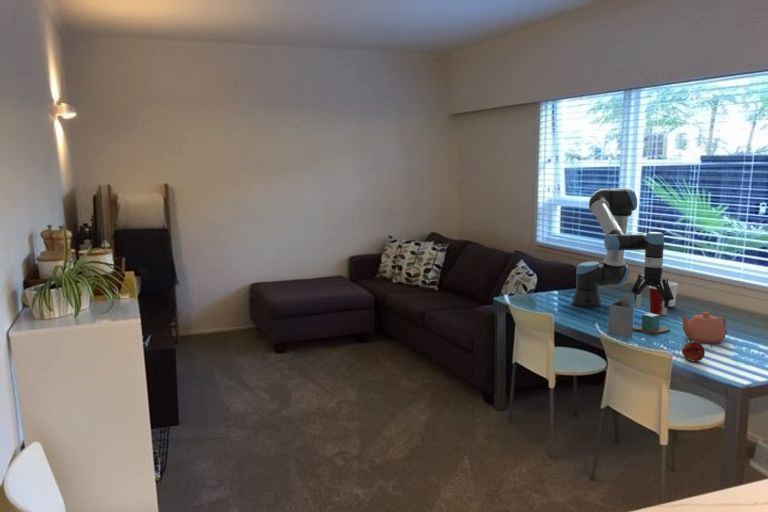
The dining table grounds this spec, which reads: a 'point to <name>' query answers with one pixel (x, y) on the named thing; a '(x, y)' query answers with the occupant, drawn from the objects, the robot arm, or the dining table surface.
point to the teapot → (705, 328)
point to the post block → (654, 332)
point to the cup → (673, 293)
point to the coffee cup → (655, 301)
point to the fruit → (693, 351)
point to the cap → (650, 321)
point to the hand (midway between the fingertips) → (650, 311)
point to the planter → (621, 317)
